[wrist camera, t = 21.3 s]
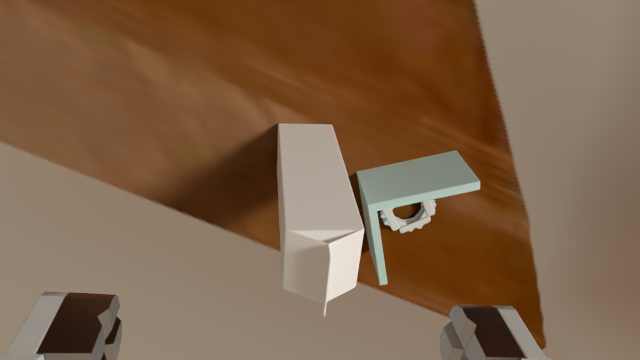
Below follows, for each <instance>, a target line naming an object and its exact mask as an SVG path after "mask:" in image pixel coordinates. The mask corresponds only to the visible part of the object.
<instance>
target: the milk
mask: <svg viewBox="0 0 640 360" xmlns="http://www.w3.org/2000/svg"><path fill="white" fill-rule="evenodd" d="M277 181H278V202H279V223H280V244H281V265H282V286H283V289H285V290H287V291H290V292H292V293H295V294H297V295H300V296H302V297H305V298H308V299H310V300H312V301H315V302H318V303H320V304H321V306H322V312H323V317H325V313H326V303H327V301H329V300H331V299H333V298H335V297H337V296H339V295H341V294H343V293H345V292H347V291H348V290H351V289H353V288H354V287H355V286H356V281H357V275H358V268H359V262H360V255H361V249H362V242H363V235H364V226H363V223H362V220H361V216H360V213H359V210H358V207H357V204H356V200H355V197H354V194H353V191H352V187H351V184H350V181H349V178H348V174H347V171H346V168H345V165H344V161H343V158H342V155H341V152H340V149H339V145H338V142H337V139H336V136H335V132H334V129H333V126H332V125H331V124H286V123H279V124H278V149H277Z"/></svg>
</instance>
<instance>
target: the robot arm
mask: <svg viewBox="0 0 640 360" xmlns="http://www.w3.org/2000/svg"><path fill="white" fill-rule="evenodd" d="M119 308H120V304H119V297H118V296H117V295H107V294H88V293H63V292H44V293H43V294H42V295H40V296H39V297H38V299H37V301H36V302H35V304H34V306H33V308H32V309H31V311H30V313H29V315H28V316H27V318H26V320H25V321H24V323H23V325H22V327H21V328H20V330H19V332H18V334H17V335H16V337H15V339H14V340H13V342H12V344H11V346H10V347H9V349H8V351H7V353H6V354H0V360H117V356H118V353H119V348H120V343H121V338H122V323H121V320H120V319H119V318H118V317H117V313H118V311H119ZM449 317H450V319H451V323H449V324H447V325H446V326H445V327H444V328H443V330H442V333H441V336H440V351H441V356H442V358H443V360H552V359H546V358H545V356H544V354H543V353H542V351H541V350H540V348H539V346H538V345H537V343H536V342H535V340H534V338H533V337H532V335H531V334H530V332H529V330H528V329H527V327H526V326H525V324H524V323H523V321H522V319H521V318H520V316H519V315H518V313H517V311H516V310H515V309H514V308H513V307H511V306H488V305H455V306H454V307H453V308H452V309H451V311H450V314H449Z"/></svg>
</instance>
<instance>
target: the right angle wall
mask: <svg viewBox="0 0 640 360" xmlns="http://www.w3.org/2000/svg"><path fill="white" fill-rule="evenodd" d="M357 178H358V184H359V190H360V196H361V202H362V208H363V214H364V220H365V227H366V233H367V239H368V245H369V250H370V253H371V256H372V259H373V263H374V266H375V269H376V273H377V276H378V279H379V283H380V285H385V284H387V277H386V270H385V263H384V256H383V249H382V242H381V234H380V227H379V220H378V213H377V211H380V210H381V212H380V214H381V216H380V217H381V218H383V221H384V224H385V225H389V226H390V227H391V228H392V230H393V231H395V230H397V229H399V230H400V232H401V233H404V232H406V231H410V232H412V231H413V229H414V228H419V229H421V228H422V226H423V225H424V224H426V223H428V222H430V221H431V220H430V219H431V218H430V216H431V215H434V214H435V206H436V204H435V201H434V200H433V199H437V198H441V197H446V196H451V195H456V194H460V193H465V192H470V191H475V190H479V189H480V180H479V179H478V178H477V177H476V175H475V174H474V173H473V171H472V170H471V169H470V168H469V166H468V165H467V164H466V162H465V161H464V160H463V159H462V157H461V156H460V155H459V153H458V152H457V151H451V152H447V153H442V154H437V155H432V156H428V157H423V158H418V159H414V160H409V161H404V162H400V163H395V164H390V165H386V166H381V167H376V168H372V169H367V170H362V171H358V172H357ZM418 202H421V210H420V211H419V212H418V213H417V214H416V215H415V217H413V218H408V219H403V220H402V219H400V218H398V217H395V216H394V214H393V212H392V210H393V208H394V207H399V206H404V205H408V204H413V203H418Z"/></svg>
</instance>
